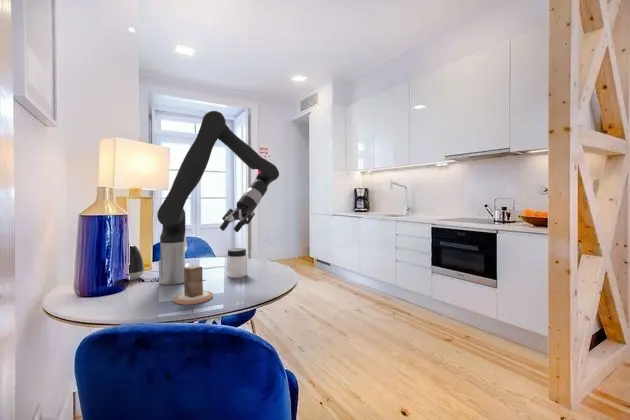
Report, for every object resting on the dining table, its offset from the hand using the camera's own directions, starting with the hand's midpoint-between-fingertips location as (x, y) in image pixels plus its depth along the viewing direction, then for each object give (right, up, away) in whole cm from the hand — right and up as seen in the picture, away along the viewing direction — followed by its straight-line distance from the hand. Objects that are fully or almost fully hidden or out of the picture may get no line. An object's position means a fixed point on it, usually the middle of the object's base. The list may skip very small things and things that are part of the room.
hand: (228, 230), depth 127 cm
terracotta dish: (-9, -23, -14) cm, 28 cm away
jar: (-1, -22, +19) cm, 29 cm away
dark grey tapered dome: (-47, -23, +13) cm, 53 cm away
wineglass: (-29, -22, +21) cm, 42 cm away
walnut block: (-9, -22, -14) cm, 27 cm away
